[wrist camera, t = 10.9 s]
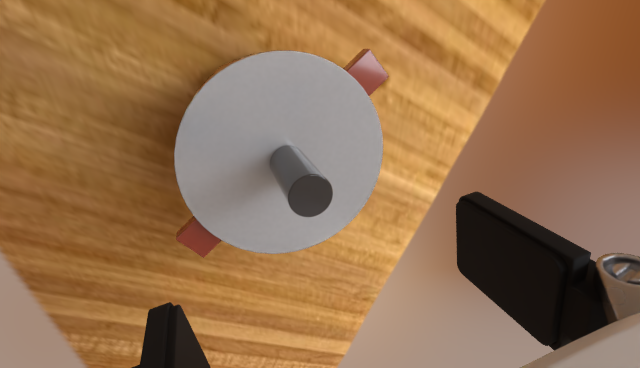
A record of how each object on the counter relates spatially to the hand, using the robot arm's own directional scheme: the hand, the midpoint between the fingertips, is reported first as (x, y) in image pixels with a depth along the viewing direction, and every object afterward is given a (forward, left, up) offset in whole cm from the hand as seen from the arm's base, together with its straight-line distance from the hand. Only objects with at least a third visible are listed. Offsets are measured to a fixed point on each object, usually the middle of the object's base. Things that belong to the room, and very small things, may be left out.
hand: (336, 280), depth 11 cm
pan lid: (+1, +1, -13) cm, 13 cm away
